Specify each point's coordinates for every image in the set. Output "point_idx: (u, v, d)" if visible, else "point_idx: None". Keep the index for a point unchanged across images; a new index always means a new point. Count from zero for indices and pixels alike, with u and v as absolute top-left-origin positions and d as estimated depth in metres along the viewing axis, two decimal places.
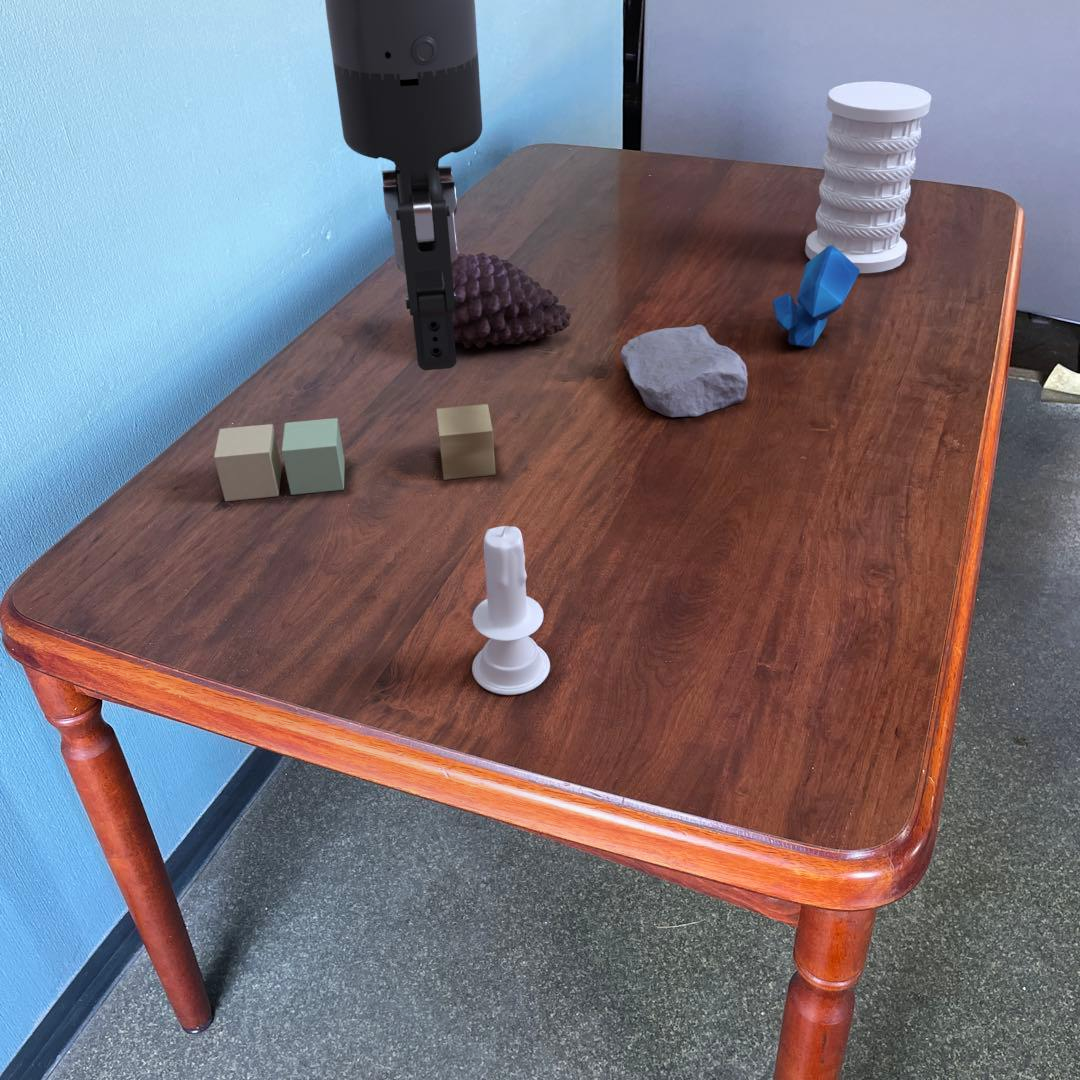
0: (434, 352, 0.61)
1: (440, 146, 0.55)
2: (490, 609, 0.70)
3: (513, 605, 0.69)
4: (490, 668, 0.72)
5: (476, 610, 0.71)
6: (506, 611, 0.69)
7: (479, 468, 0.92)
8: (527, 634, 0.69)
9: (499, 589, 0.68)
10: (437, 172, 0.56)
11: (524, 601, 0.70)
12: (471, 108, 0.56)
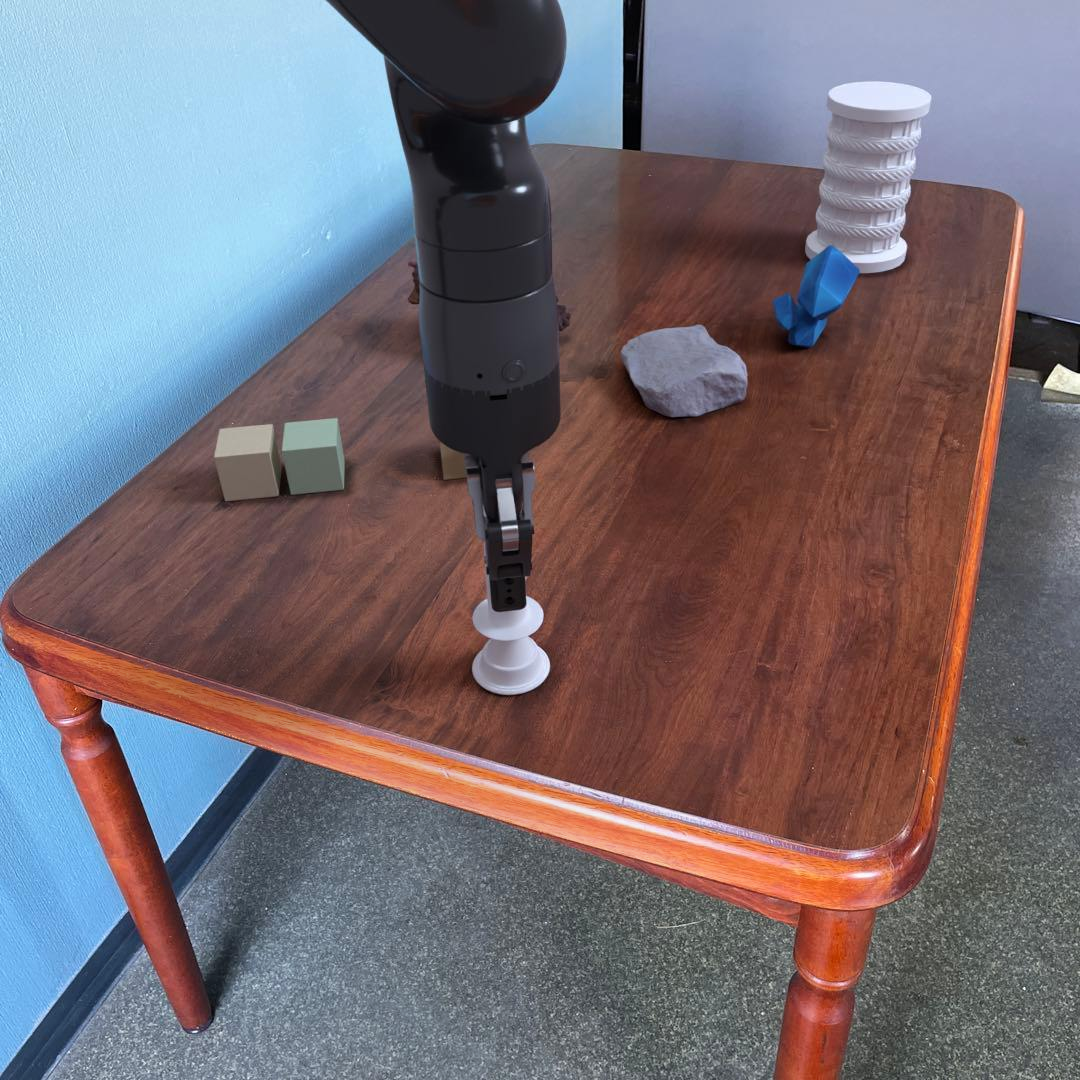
0: (507, 599, 0.67)
1: (524, 445, 0.59)
2: (490, 609, 0.70)
3: None
4: (490, 668, 0.72)
5: (476, 610, 0.71)
6: (506, 611, 0.69)
7: None
8: (527, 634, 0.69)
9: None
10: (520, 465, 0.60)
11: None
12: (552, 407, 0.59)
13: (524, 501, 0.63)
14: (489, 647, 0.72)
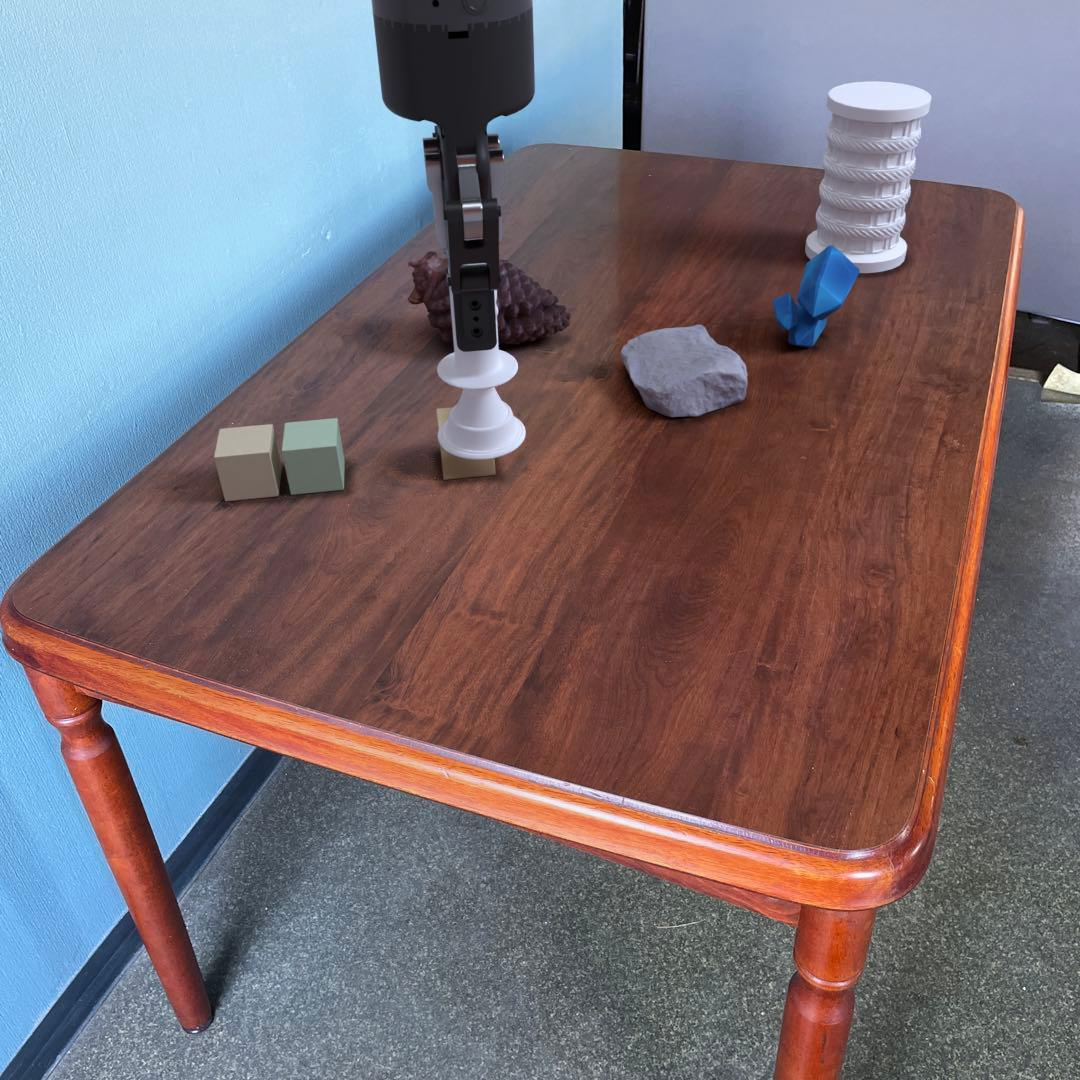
0: (474, 332, 0.58)
1: (490, 108, 0.50)
2: (456, 354, 0.61)
3: None
4: (456, 429, 0.63)
5: (442, 361, 0.63)
6: (474, 354, 0.60)
7: (479, 468, 0.92)
8: (498, 383, 0.61)
9: None
10: (486, 137, 0.51)
11: None
12: (524, 66, 0.50)
13: None
14: (456, 407, 0.64)
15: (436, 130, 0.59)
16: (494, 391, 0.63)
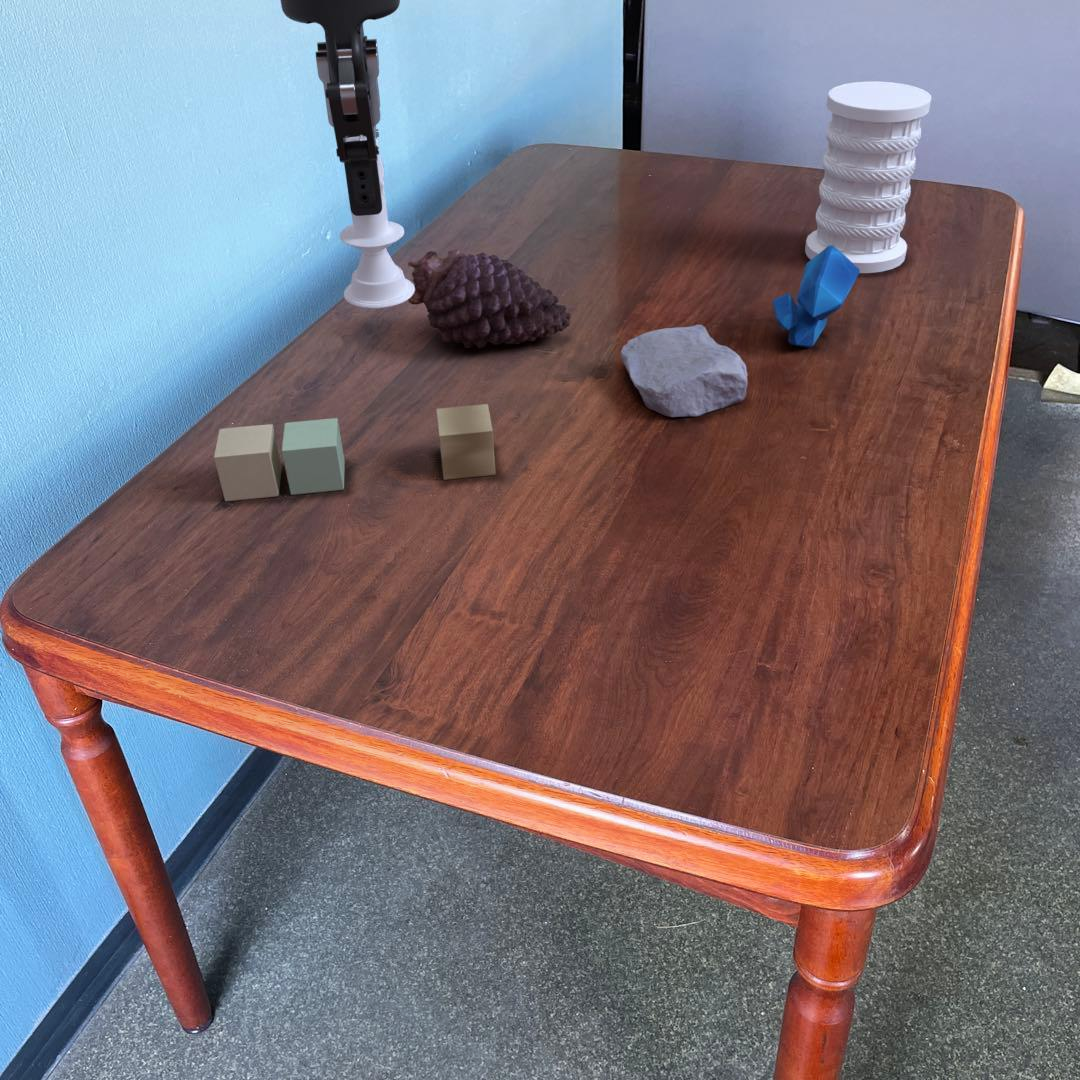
0: (363, 199, 0.74)
1: (360, 11, 0.66)
2: (353, 221, 0.77)
3: None
4: (357, 284, 0.79)
5: (344, 229, 0.79)
6: (367, 219, 0.76)
7: (479, 468, 0.92)
8: (386, 243, 0.77)
9: None
10: (358, 35, 0.67)
11: (384, 213, 0.77)
12: None
13: (370, 87, 0.70)
14: (357, 268, 0.80)
15: None
16: (386, 253, 0.79)
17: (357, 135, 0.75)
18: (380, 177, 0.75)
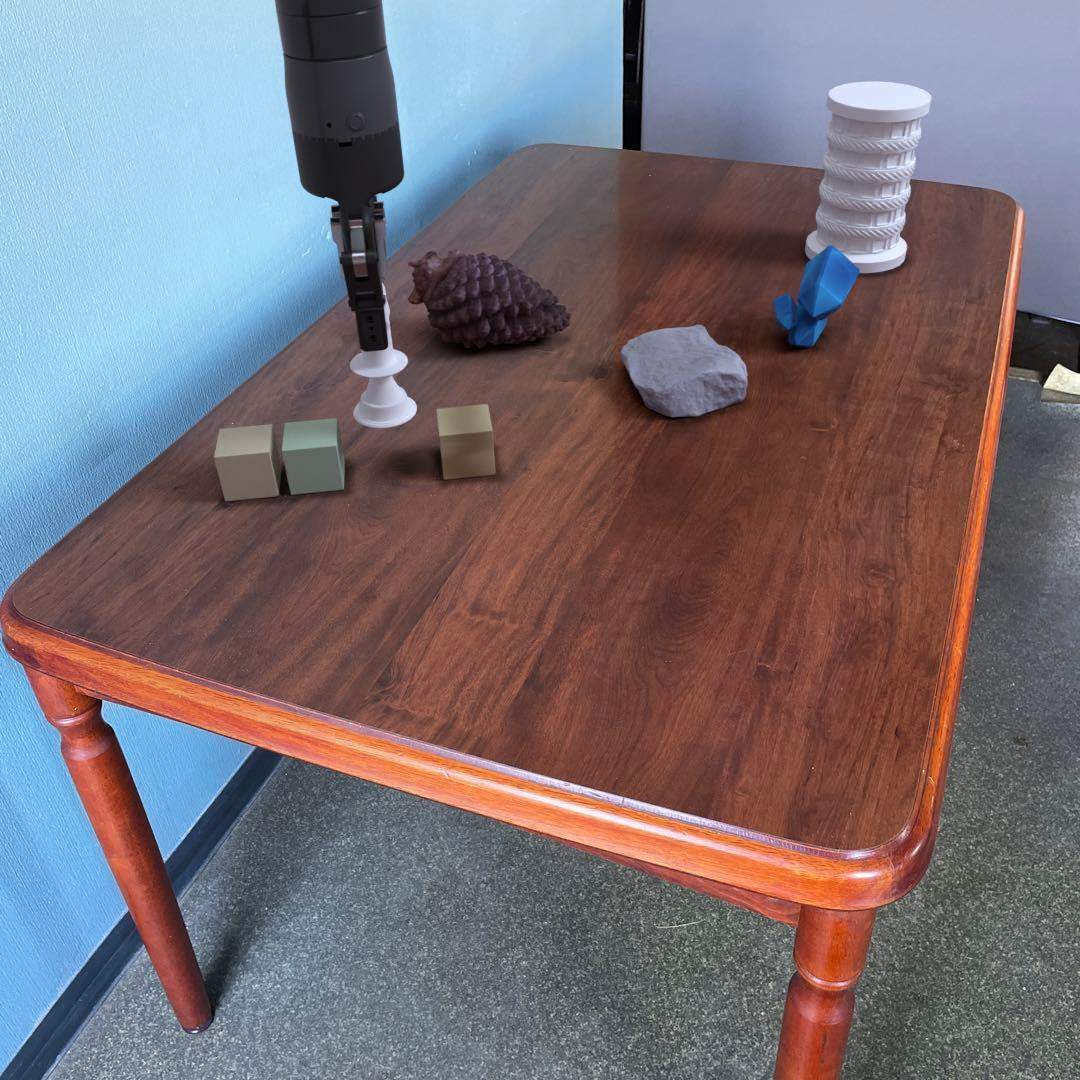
0: (371, 338, 0.83)
1: (370, 189, 0.75)
2: (362, 353, 0.86)
3: None
4: (365, 406, 0.89)
5: (353, 358, 0.88)
6: (374, 353, 0.86)
7: (479, 468, 0.92)
8: (392, 373, 0.86)
9: None
10: (368, 208, 0.76)
11: (389, 346, 0.86)
12: (393, 161, 0.76)
13: (378, 247, 0.79)
14: (365, 391, 0.89)
15: None
16: (391, 379, 0.88)
17: None
18: (386, 317, 0.84)
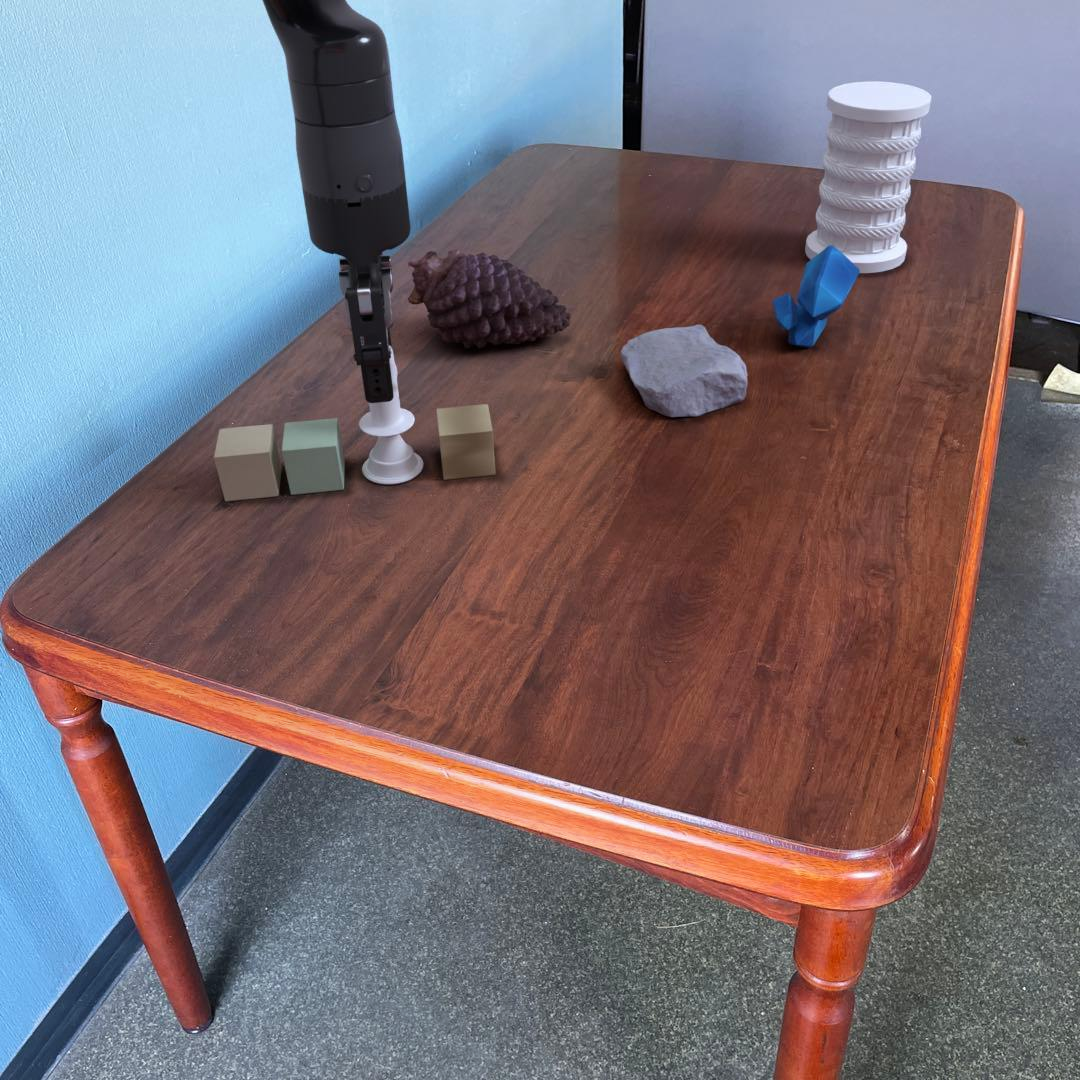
0: (376, 390, 0.83)
1: (377, 246, 0.78)
2: (371, 413, 0.90)
3: (387, 408, 0.89)
4: (374, 463, 0.92)
5: (362, 417, 0.92)
6: (383, 413, 0.89)
7: (479, 468, 0.92)
8: (399, 432, 0.90)
9: None
10: (376, 264, 0.79)
11: (397, 406, 0.90)
12: (400, 219, 0.78)
13: None
14: (374, 448, 0.93)
15: None
16: (399, 437, 0.92)
17: None
18: (394, 379, 0.88)
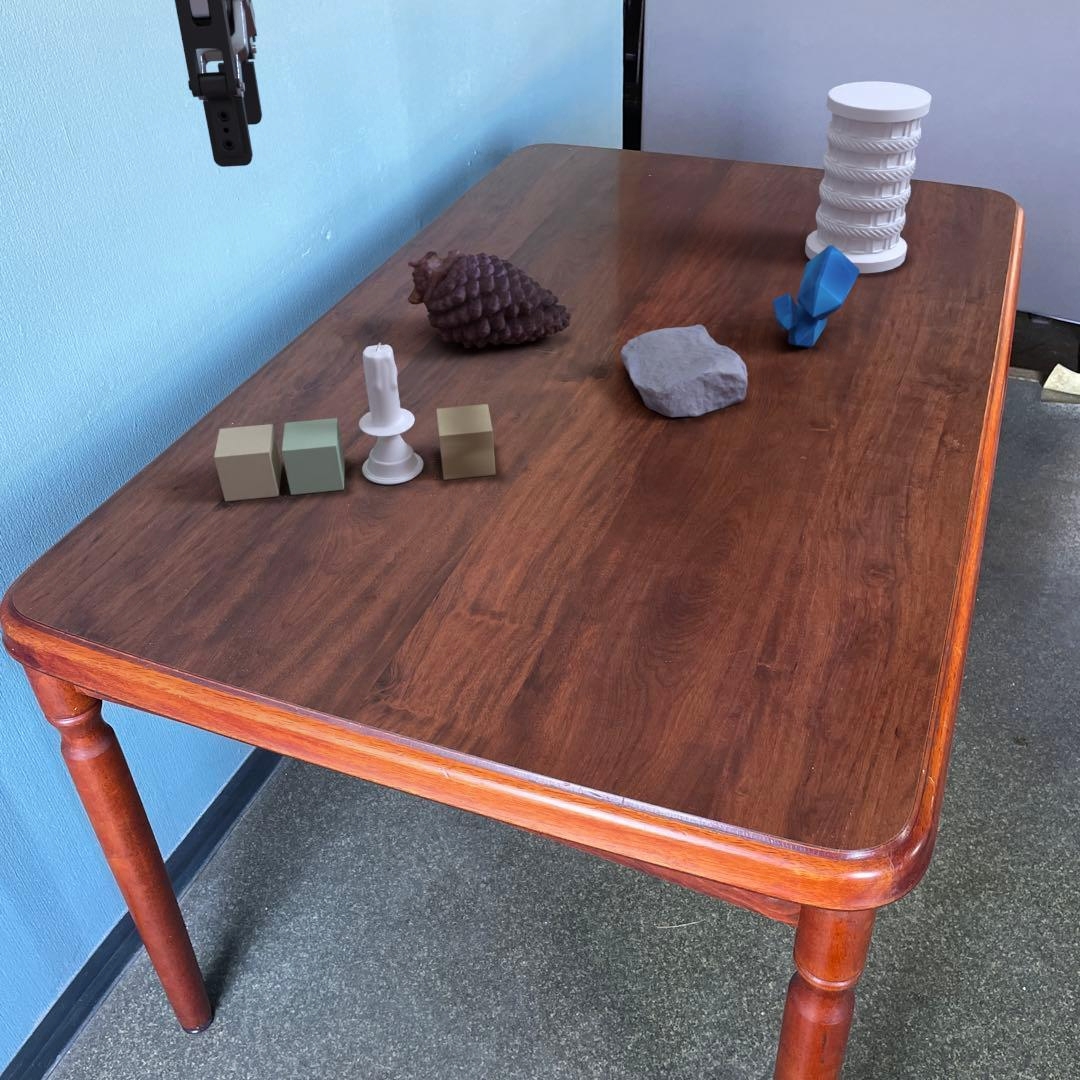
0: (227, 145, 0.62)
1: None
2: (371, 413, 0.90)
3: (387, 408, 0.89)
4: (374, 463, 0.92)
5: (362, 417, 0.92)
6: (383, 413, 0.89)
7: (479, 468, 0.92)
8: (399, 432, 0.90)
9: (375, 394, 0.88)
10: None
11: (397, 406, 0.90)
12: None
13: None
14: (374, 448, 0.93)
15: None
16: (399, 437, 0.92)
17: None
18: (394, 379, 0.88)
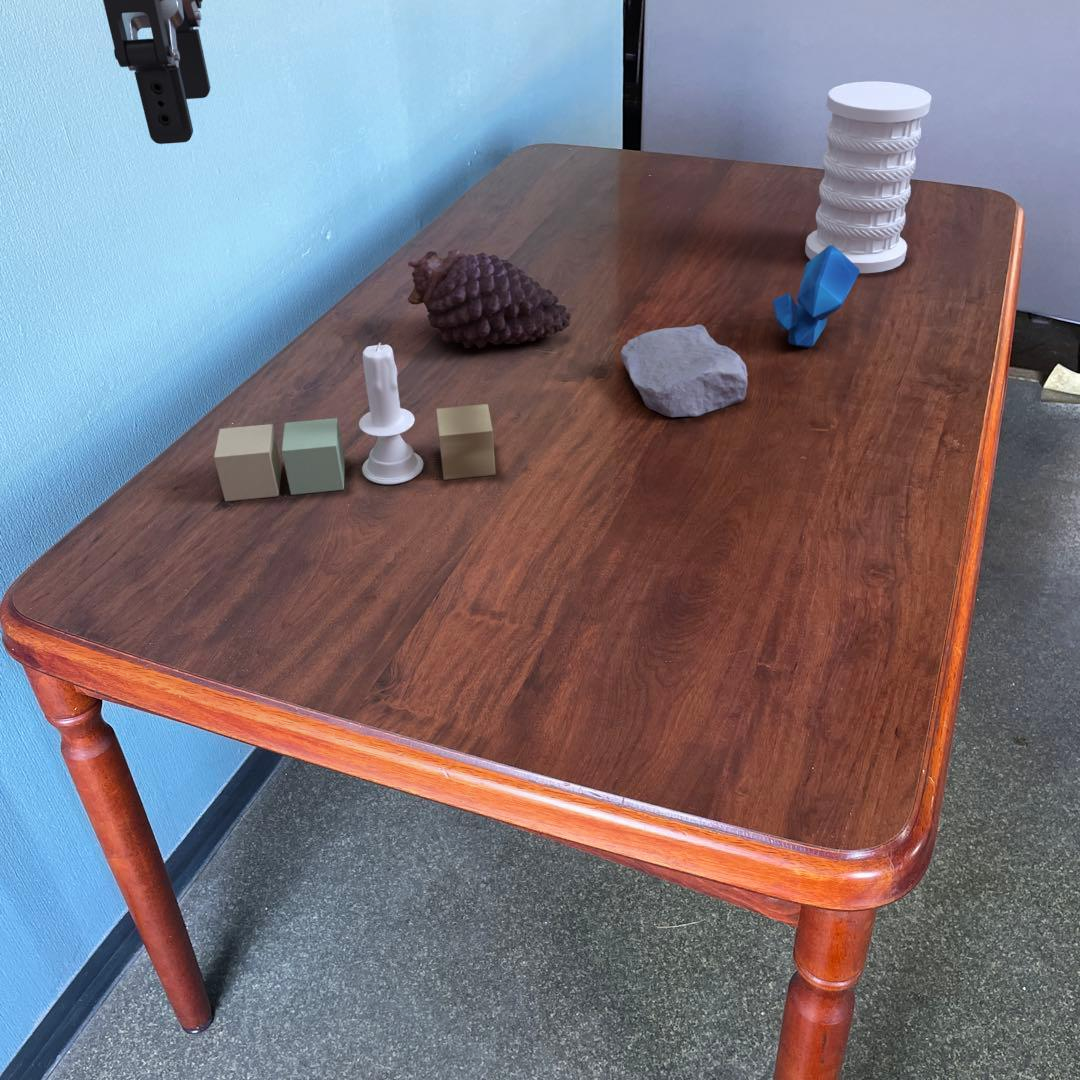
0: (163, 120, 0.57)
1: None
2: (371, 413, 0.90)
3: (387, 408, 0.89)
4: (374, 463, 0.92)
5: (362, 417, 0.92)
6: (382, 413, 0.89)
7: (479, 468, 0.92)
8: (399, 432, 0.90)
9: (375, 394, 0.88)
10: None
11: (397, 406, 0.90)
12: None
13: None
14: (374, 448, 0.93)
15: None
16: (399, 437, 0.92)
17: None
18: (394, 379, 0.88)
